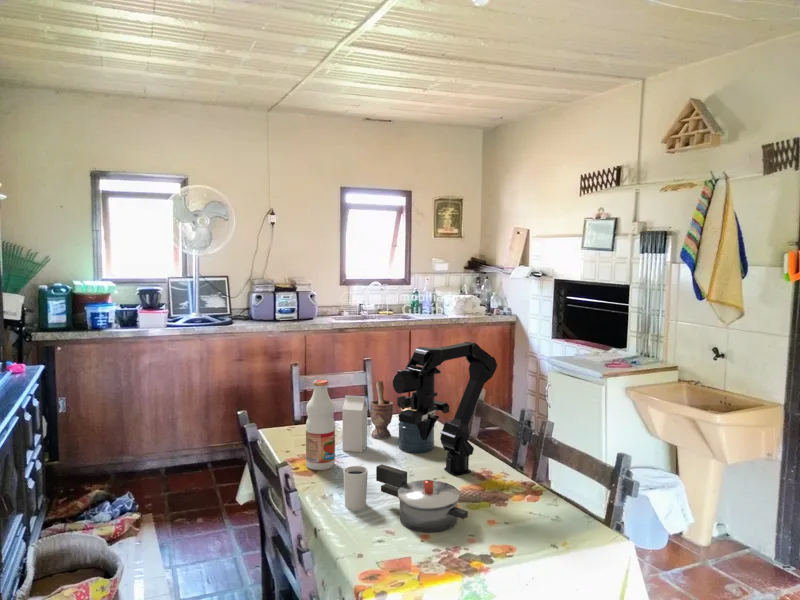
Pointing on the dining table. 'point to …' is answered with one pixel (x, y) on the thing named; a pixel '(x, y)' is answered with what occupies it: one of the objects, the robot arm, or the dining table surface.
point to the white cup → (355, 487)
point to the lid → (418, 489)
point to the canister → (414, 438)
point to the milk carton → (354, 424)
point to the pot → (426, 515)
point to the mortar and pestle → (381, 414)
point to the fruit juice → (320, 429)
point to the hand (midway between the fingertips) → (424, 439)
